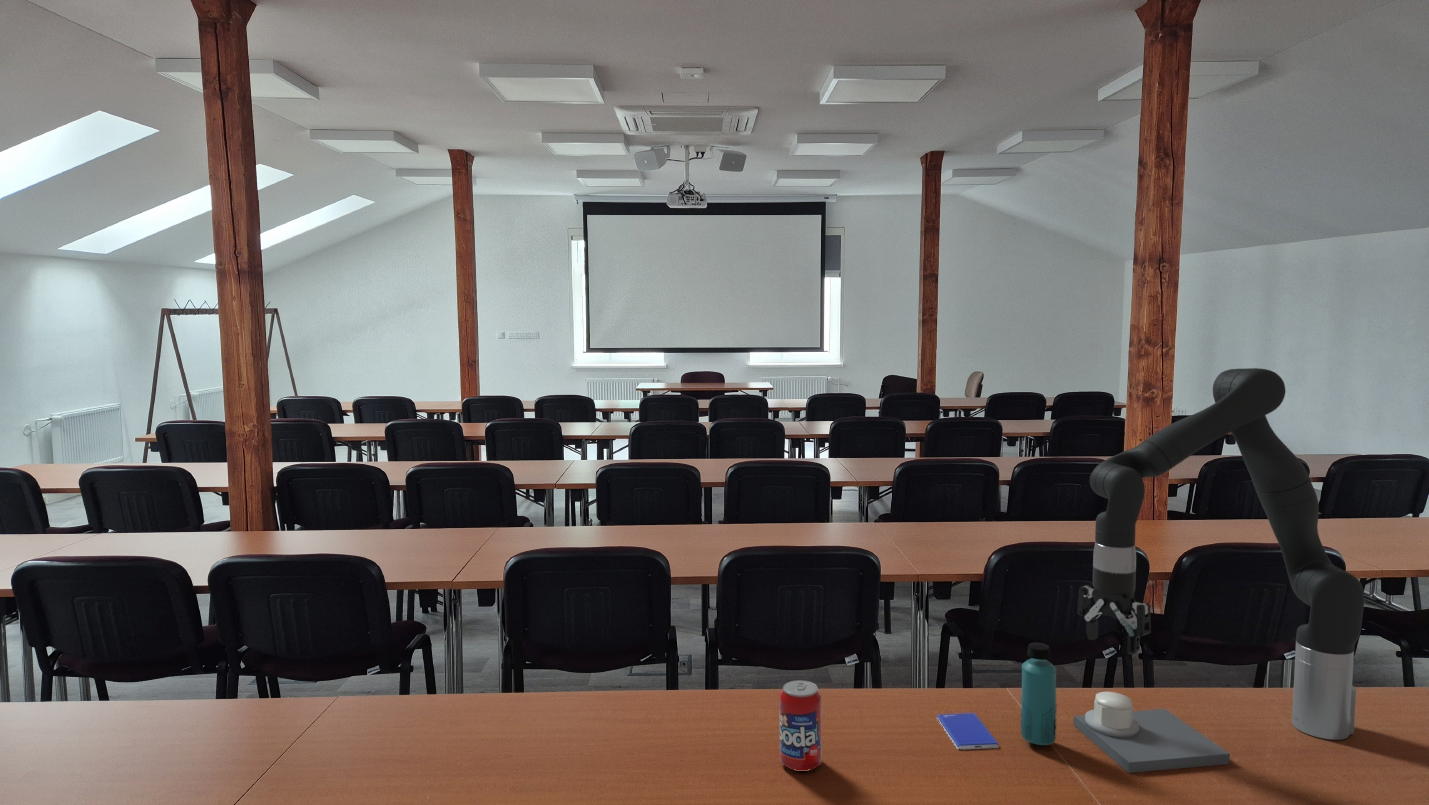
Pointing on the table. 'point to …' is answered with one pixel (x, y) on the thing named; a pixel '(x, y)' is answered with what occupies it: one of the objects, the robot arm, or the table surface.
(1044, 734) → the beverage bottle
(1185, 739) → the threaded post stand
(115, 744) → the table surface
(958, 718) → the hard drive
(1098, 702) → the cap
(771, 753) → the table surface
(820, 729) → the soda can
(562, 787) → the table surface
